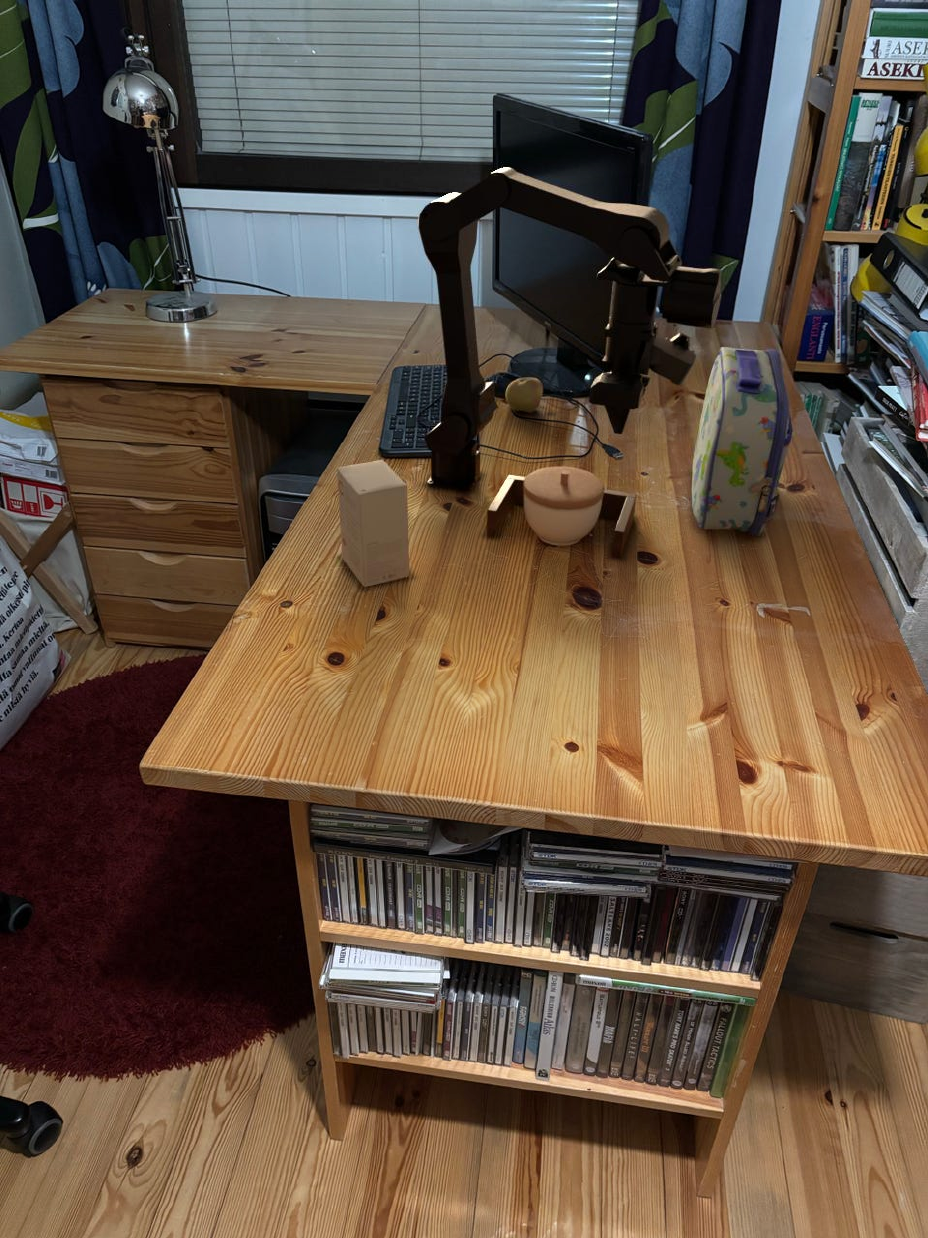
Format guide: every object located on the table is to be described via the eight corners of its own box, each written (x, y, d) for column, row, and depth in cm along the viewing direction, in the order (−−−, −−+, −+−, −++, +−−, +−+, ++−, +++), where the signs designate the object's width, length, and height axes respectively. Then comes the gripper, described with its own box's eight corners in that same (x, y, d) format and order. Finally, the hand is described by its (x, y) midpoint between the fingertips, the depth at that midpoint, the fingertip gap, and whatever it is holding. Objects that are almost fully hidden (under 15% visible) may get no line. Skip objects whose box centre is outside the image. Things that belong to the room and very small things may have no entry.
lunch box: (771, 551, 125) (806, 402, 113) (690, 543, 127) (716, 395, 115) (758, 467, 146) (786, 334, 134) (688, 461, 148) (710, 329, 136)
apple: (551, 417, 161) (553, 384, 158) (504, 416, 161) (506, 383, 158) (549, 404, 166) (552, 372, 162) (504, 402, 166) (506, 370, 163)
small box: (410, 577, 118) (408, 484, 111) (363, 588, 116) (358, 495, 109) (386, 547, 124) (383, 457, 117) (341, 557, 122) (334, 466, 114)
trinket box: (515, 517, 132) (518, 456, 126) (589, 514, 133) (596, 453, 127) (526, 556, 123) (531, 492, 118) (606, 553, 124) (614, 490, 119)
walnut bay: (486, 535, 127) (487, 509, 125) (507, 499, 136) (508, 474, 134) (620, 558, 123) (623, 531, 121) (633, 519, 132) (636, 493, 130)
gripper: (688, 348, 109) (669, 470, 118) (703, 303, 123) (685, 414, 132) (594, 337, 111) (582, 457, 120) (619, 294, 126) (607, 404, 135)
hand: (618, 432), depth 127 cm, fingers closed
